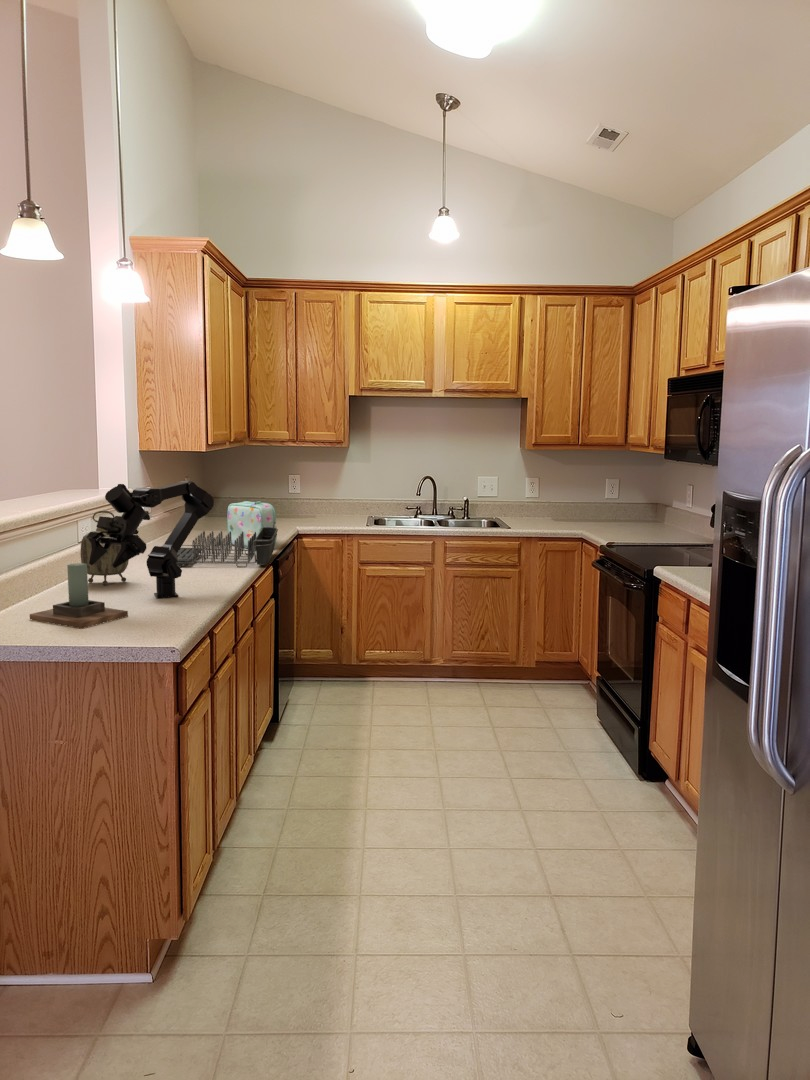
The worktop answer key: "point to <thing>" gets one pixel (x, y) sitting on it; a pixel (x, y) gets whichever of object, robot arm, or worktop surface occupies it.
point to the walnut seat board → (79, 614)
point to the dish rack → (259, 544)
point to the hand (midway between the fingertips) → (101, 565)
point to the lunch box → (249, 519)
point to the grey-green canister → (78, 585)
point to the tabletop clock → (102, 558)
